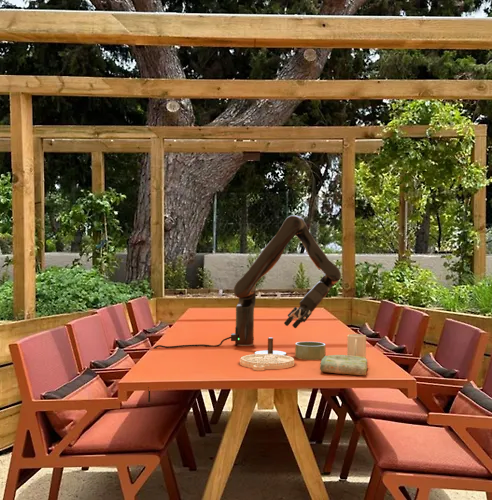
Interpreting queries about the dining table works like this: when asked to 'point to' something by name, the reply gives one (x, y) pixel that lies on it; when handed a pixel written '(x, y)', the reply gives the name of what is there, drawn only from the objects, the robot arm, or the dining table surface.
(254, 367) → the medallion
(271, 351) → the lid
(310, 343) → the bowl
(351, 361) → the towel
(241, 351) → the dining table surface
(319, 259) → the robot arm
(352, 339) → the mug
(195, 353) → the dining table surface
